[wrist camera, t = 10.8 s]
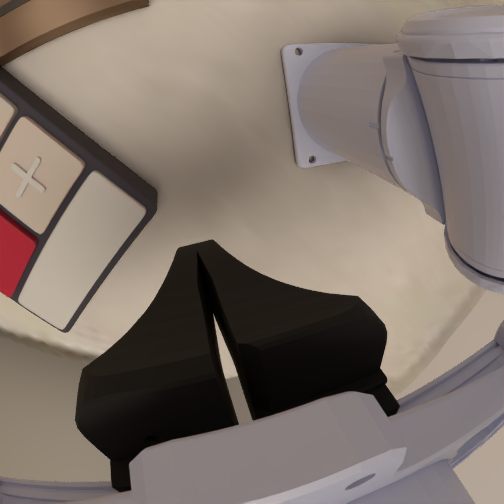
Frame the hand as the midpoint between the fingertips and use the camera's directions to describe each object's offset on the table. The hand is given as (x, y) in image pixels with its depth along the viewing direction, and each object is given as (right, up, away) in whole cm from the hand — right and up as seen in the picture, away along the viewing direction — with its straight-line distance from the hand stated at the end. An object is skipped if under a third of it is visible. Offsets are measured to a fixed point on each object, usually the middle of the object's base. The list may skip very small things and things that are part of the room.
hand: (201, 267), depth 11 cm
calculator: (-13, +5, +5) cm, 15 cm away
